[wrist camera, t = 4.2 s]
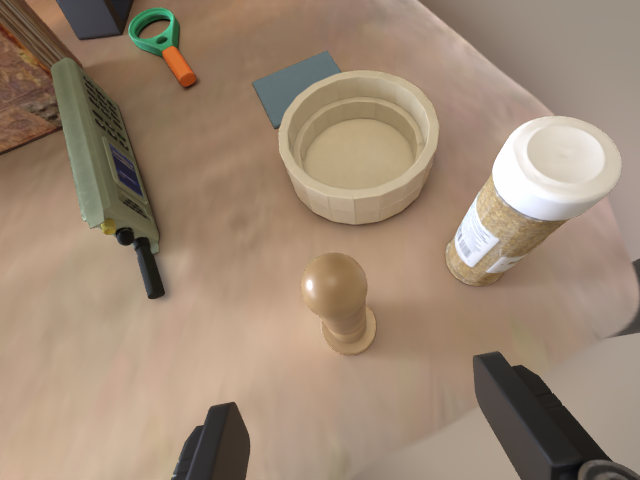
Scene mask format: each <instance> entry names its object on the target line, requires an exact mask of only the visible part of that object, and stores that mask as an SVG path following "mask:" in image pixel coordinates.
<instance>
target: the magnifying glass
mask: <svg viewBox="0 0 640 480" xmlns="http://www.w3.org/2000/svg"><path fill="white" fill-rule="evenodd" d="M158 19H169V20H171V22H170V25H169V27H168V28H167V29H166V30H165V31H164V32H163V33H161V34H159V35H158V36H155V37H153V38H149V39H141V38H138V34H139V32H140V30H141V29H142V28H143V27H144V26H145V25H147V24H148V23H150V22H152V21H154V20H158ZM128 31H129V35H130V37H131V39H132V40H133V41H134V42H135V44H136V45H137V46H138V47H139V48H141V49H143V50H146V51H148V52H151V53H154V54H156V55H159V56H162V57H164V59H165V61H166V62H167V64H168V65H169V67H170V69H171V70H172V72H173V73H174V75H175V77H176V78H177V80H178V81H179V83H180V84H181V85H182V86H185V87H186V86H189V85H191V84H193V83H194V82H195V80H196V76H195V74H194V73H193V71H192V70H191V68H190V67H189V65H188V64H187V63H186V61H185V60H184V58H183V57H182V55H181V54H180V52H179V51H178V50H177V45H178V36H179V23H178V21H177V19H176V18H175V16H174V15H173V13H172V12H171V11H170V10H168V9H165V8H151V9H148V10H145V11H143V12H141V13H140V14H138V15H137V16H136V17H135V18H134V19H133V20H132V21H131V23H130V25H129V30H128Z"/></svg>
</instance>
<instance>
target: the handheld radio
mask: <svg viewBox="0 0 640 480" xmlns="http://www.w3.org/2000/svg"><path fill="white" fill-rule="evenodd" d="M50 70H51V74H52V79H53V84H54V88H55V93H56V98H57V103H58V107H59V112H60V117H61V121H62V126H63V131H64V136H65V140H66V145H67V150H68V154H69V159H70V164H71V169H72V173H73V178H74V183H75V187H76V192H77V197H78V201H79V206H80V211H81V216H82V219H83V220H84V221H85V222H87V223H88V224H89V226H90V229H92V228H95V227H97V228H99V229H101V230H102V231H103V233H104V234H107V235H112V236H114V237H116V238H117V240H118V242H119V243H120V244H121V245H125V246H127V245H132V246H134V249H135V251H136V252H137V255H138V262H139V266H140V270H141V273H142V277H143V281H144V284H145V288H146V292H147V295H148V298H149V299H156V298H159V297H161V296H163V295H164V294H165V291H164V288H163V284H162V281H161V278H160V275H159V271H158V268H157V265H156V261H155V258H154V255H153V254H155V253H157V252H159V245H158V241H159V234H158V230H157V227H156V224H155V221H154V218H153V215H152V211H151V208H150V205H149V202H148V199H147V196H146V192H145V189H144V186H143V183H142V180H141V177H140V173H139V170H138V167H137V164H136V161H135V158H134V155H133V152H132V148H131V145H130V142H129V139H128V136H127V133H126V130H125V127H124V124H123V121H122V118H121V115H120V112H119V109H118V106H117V104H116V103H115V102H114V101H113V100H112V99H111V98H110V97H109V96H108V95H107V94H106V93H105V92H104V91H103V90H102V89H101V88H100V87H99V86H98V85H97V84H96V83H95V82H94V81H93V80H92V79H91V78H90V77H89V76H88V75H87V74H86V73H85V72H84V71H83V69H82V68H81V67H80V66H79V65H78V64H77V63H76V62H75V61H74V60H72V59H71V58H67V57H65V58H63V59H62V60H60V61H58V62H57V63H55V64H53V65H52V67H51V69H50Z"/></svg>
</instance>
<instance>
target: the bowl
mask: <svg viewBox="0 0 640 480" xmlns="http://www.w3.org/2000/svg"><path fill="white" fill-rule="evenodd" d="M439 128H440V127H439V122H438V119H437V115H436V112H435V109H434V106H433V104H432V103H431V102H430V101H429V99H428V98H427V97H426V96H425V94H424V93H423V92H422V90H421V89H419V88H418V87H416V86H415V85H413V84H411V83H410V82H408V81H407V80H405V79H404V78H401V77H398V76H395V75H392V74H388V73H385V72H382V71H367V70H355V71H349V72H344V73H338V74H335V75H332V76H330V77H328V78H325V79H323V80H321V81H318V82H316V83H314V84H312V85H311V86H310V87H308V88H307V89H306V90H304V91H303V92H302V93H300V94H299V95H298V96H297V97H296V98H295V99H294V101H293V102H292V103H291V105H290V106H289V107H288V109H287V110H286V111H285V113H284V116H283V119H282V122H281V125H280V128H279V131H278V132H279V133H278V137H279V152H280V155H281V158H282V160H283V163H284V165H285V168H286V170H287V173H288V176H289V178H290V181H291V183H292V185H293V187H294V189H295V191H296V194H297V196H298V198H299V199H300V200H301V201H302V202H303V203H304V204H305V205H306V206H307V207H308V208H309V209H311V210H312V211H313V212H314V213H316V214H318V215H320V216H322V217H325V218H327V219H329V220H331V221H333V222H340V223H347V224H354V225H356V224H364V223H372V222H379V221H382V220H384V219H386V218H388V217H391V216H393V215H395V214H397V213H399V212H401V211H403V210H404V209H405V208H406V207H407V206H408V205H409V204H410V203H411V202H413V201H414V200H415V199H416V198H417V197H418V196H419V194H420V192H421V190H422V189H423V187H424V185H425V183H426V181H427V179H428V176H429V173H430V170H431V166H432V163H433V159H434V156H435V152H436V149H437V145H438V136H439Z"/></svg>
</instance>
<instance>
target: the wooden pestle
mask: <svg viewBox="0 0 640 480" xmlns="http://www.w3.org/2000/svg"><path fill="white" fill-rule="evenodd" d="M367 289H368V284H367V278H366V275H365V272H364V270H363V269H362V267H361V266H360V265H359V263H358V262H356V261H355V260H354V259H353V258H351V257H349V256H347V255H345V254H341V253H327V254H324V255H321V256H319V257H317V258H316V259H314V260H313V261H312V262H311V263H310V264H309V265H308V266H307V268H306V269H305V271H304V274H303V277H302V281H301V291H302V296H303V298H304V301H305V303H306V304H307V306H308V307H309V308H310V309H311V310H312V311H313V312H314V313H315V314H317V315H318V316H319V317H320V319H321V331H322V335H323V337H324V339H325V341H326V342H327V344H328V345H329V346H330V347H331V348H332V349H333V350H335V351H336V352H338V353H340V354H343V355H357V354H360V353H362V352H364V351H365V350H366V349H367V348H368V347H369V346H370V345H371V344H372V342H373V340H374V338H375V333H376V320H375V316H374V314H373V312H372V310H371V309H370V308H369V307H368V306H367V305H366V294H367Z"/></svg>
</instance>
